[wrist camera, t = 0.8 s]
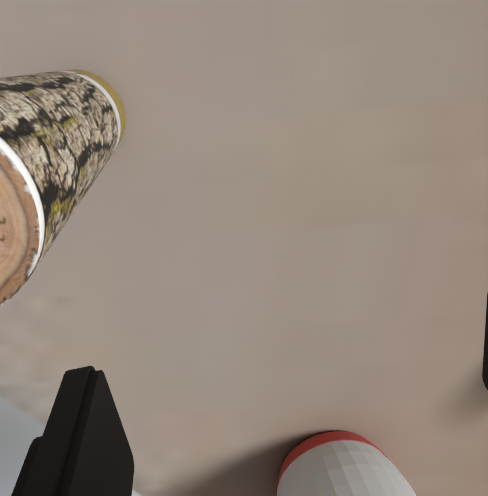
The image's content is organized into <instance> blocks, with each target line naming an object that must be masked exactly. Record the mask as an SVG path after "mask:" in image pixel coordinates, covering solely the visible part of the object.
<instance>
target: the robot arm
mask: <svg viewBox="0 0 488 496" xmlns="http://www.w3.org/2000/svg"><path fill="white" fill-rule="evenodd" d="M482 377H483V382H484V384H485V387H486V388H487V390H488V294H487V309H486V325H485V341H484V357H483V373H482ZM133 475H134V460H133V455H132V452H131V449H130V446H129V443H128V440H127V437H126V435H125V432H124V429H123V426H122V423H121V420H120V417H119V415H118V412H117V409H116V406H115V403H114V400H113V397H112V395H111V392H110V389H109V386H108V383H107V380H106V377H105V375H104V372H103V371H102V370H99V371H95V369H94V367H93V366H87V367H82V368H77V369H73V370H68V371H66V372H65V374H64V377H63V379H62V382H61V385H60V388H59V391H58V393H57V396H56V399H55V402H54V405H53V408H52V410H51V413H50V416H49V419H48V422H47V425H46V427H45V430H44V433H43V436H41V437H37V438H35V439H34V440H33V442H32V444H31V445H30V448H29V450H28V453H27V456H26V458H25V461H24V464H23V466H22V469H21V472H20V474H19V477H18V479H17V482H16V485H15V487H14V490H13V493H12V495H11V496H131V495H132V485H133Z"/></svg>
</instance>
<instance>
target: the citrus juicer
mask: <svg viewBox="0 0 488 496" xmlns="http://www.w3.org/2000/svg"><path fill="white" fill-rule="evenodd" d="M276 496H416V494H415V492H414V491H413V489H412V488H411V486H410V484H409V483H408V482H407V481H406V479H405V478H404V477H403V476H402V474H401V473H400V472H399V471H398V469H397V468H396V467H395V466H394V465H393V464H392V463H391V462H390V461H389V460H388V459H387V457H386V456H385V455H384V454H383V453H382V451H381V450H379V449H378V448H377V447H376V446H375V445H373V444H372V443H370V442H369V441H368V440H366V439H365V438H363V437H362V436H360V435H357V434H355V433H350V432H345V431H333V432H326V433H322V434H319V435H315V436H313V437H311V438H309V439H307V440H305V441H303V442H302V443H300V444H299V445H297V446H296V447H295V448H294V449H293V450H292V451H291V452H290V453H289V454H288V456H287V457H286V458H285V460H284V462H283V464H282V466H281V470H280V474H279V478H278V483H277V488H276Z"/></svg>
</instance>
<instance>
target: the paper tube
mask: <svg viewBox="0 0 488 496" xmlns="http://www.w3.org/2000/svg"><path fill="white" fill-rule="evenodd" d="M124 129H125V113H124V109H123V105H122V103H121V100H120V99H119V97H118V95H117V94H116V92H115V91H114V90H113V88H112V87H111V86H110V85H109V84H108V83H107V82H105V81H104V80H103V79H101V78H100V77H98V76H96V75H94V74H92V73H89V72H86V71H81V70H66V71H55V72H47V73H39V74H31V75H22V76H14V77H6V78H0V306H1V305H3V304H4V303H5V302H6V301H8V300H9V299H10V298H11V297H12V296H13V295H14V294H16V293H17V292H18V290H19V289H20V288H21V287H22V286H23V285H24V283H25V282H26V281H27V280H28V278H29V277H30V276H31V274H32V273H33V271H34V270H35V268H36V267H37V265H38V264H39V262H40V261H41V259H42V258H43V256H44V255H45V253H46V252H47V250H48V249H49V247H50V246H51V244H52V243H53V242H54V240H55V239H56V237H57V236H58V234H59V233H60V231H61V230H62V228H63V227H64V225H65V224H66V222H67V221H68V219H69V218H70V216H71V215H72V213H73V212H74V210H75V209H76V207H77V206H78V204H79V203H80V201H81V200H82V198H83V197H84V195H85V194H86V192H87V191H88V189H89V188H90V186H91V185H92V183H93V182H94V180H95V179H96V177H97V176H98V174H99V173H100V171H101V170H102V168H103V167H104V166H105V164H106V163H107V161H108V160H109V158H110V157H111V155H112V154H113V152H114V150H115V149H116V147H117V146H118V144H119V142H120V141H121V139H122V136H123V133H124Z"/></svg>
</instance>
